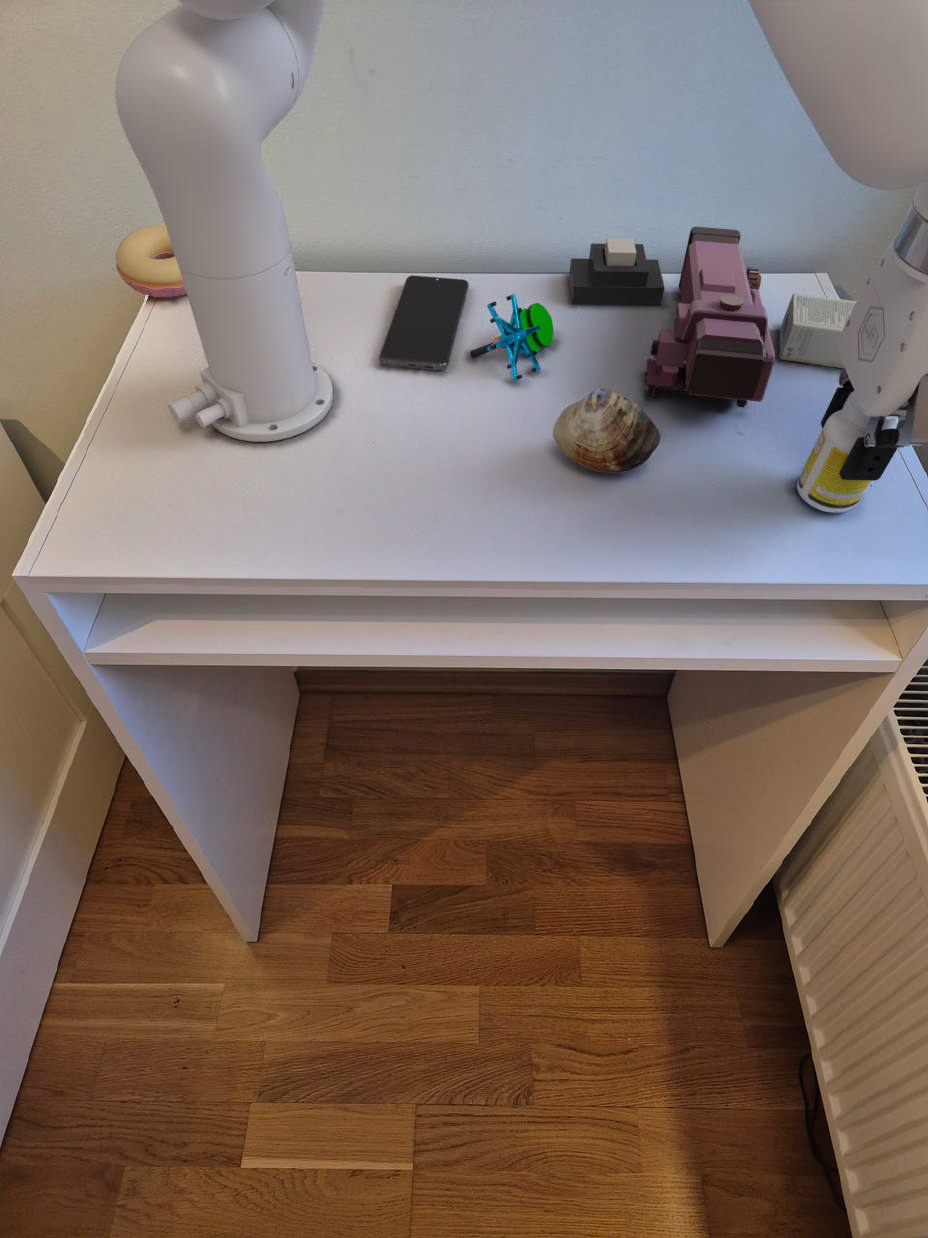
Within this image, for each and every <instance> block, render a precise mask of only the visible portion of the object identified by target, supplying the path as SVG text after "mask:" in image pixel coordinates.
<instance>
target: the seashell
mask: <svg viewBox="0 0 928 1238" xmlns="http://www.w3.org/2000/svg"><path fill="white" fill-rule="evenodd" d="M661 436H662V435H661V432H660V430H659V428H658V427H657V426H656V424H655V423H654V422H653V420H652V419H651V418H650V417H649V416H648V414H647V413H646V412H645V411H644V410H643V409H642V408H641V406H640V405H638V404H636V403H635V402H634V401H632V400H631V399H629V398H628V397H626V396H623V395H621V394H619V393H618V392H616V391H612V390H610V389H606V388H597V389H595V390H593V391H591V392H590V393H589V394H587V395H586V396H584V397H583V398H582V399H580V400H578V401H575V402H573V403H571V404H569V405H568V406H567V407H565V408H564V409H563V410H562V411H561V413H560V415H559V416H558V417H557V418H556V420H555V421H554V425H553V428H552V437H553V439H554V441H555V443H556V444H557V446H558V447H559V449H560V450H561V451H562V453H564V455H565V456H567V457H568V458H569V459H571V461H573V462H575V463H576V464H578V465H579V466H581V467H583V468H585V469H588V470H590V471H594V472H596V473H604V474H616V473H625V472H629V471H632V470H634V469H637V468H638V467H640V466H642V465H643V464H644V463H646V462H647V461H648V460H649V459H650V457H651V456H652V455H653V453H654V452H655V451H656V449H657V448H658V447H659V445H660V443H661V438H662V437H661Z"/></svg>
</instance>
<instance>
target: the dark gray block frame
mask: <svg viewBox="0 0 928 1238" xmlns="http://www.w3.org/2000/svg"><path fill="white" fill-rule="evenodd" d="M634 244H635V248H636V258H635V264H634V266H606V260H605V254H604V253H605V246H606V243H596V242H595V243H594V242H593V243H590V247H589V256H588V258H574V257H573V258H570V266H569V275H568V279H569V287H570V288H569V289H570V297H571V298H570V299H571V305H579V306H581V305H587V306H588V305H589V306H590V305H591V306H592V305H593V306H648V307H649V306H651V307H652V306H654V307H655V306H659V307H660V306H661V305H662V301H663V297H664V293H665V284H664V279H663V276H662V271H661V267H660V262H659V259H651V258H650V259H649V258H648V259H647V256H646V252H645V247H644V243H634Z"/></svg>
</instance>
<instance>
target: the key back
mask: <svg viewBox="0 0 928 1238" xmlns="http://www.w3.org/2000/svg"><path fill="white" fill-rule="evenodd" d="M605 244H606V246H605V253H604V254H605V260H606V266H634V264H635V258H636V248H635V244H636V243H635V239H634V238H609V237H608V238H606V239H605Z"/></svg>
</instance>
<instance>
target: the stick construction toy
mask: <svg viewBox="0 0 928 1238" xmlns="http://www.w3.org/2000/svg"><path fill="white" fill-rule="evenodd" d="M505 298H506V301H507V302H508V301H511V307H512V313H511V315H510V320H509V321H506V320H505V319H503V318H501V317H500V316H499V315H498V313H497V311H496V309H495V308H494V307H495V306H497V302H496V301H492V302H490V303H488V304H487V305H486V306H487V307H486V308H487V309H488V311H489V313H490V315H491V317H492V318H490V319H489V323H490V324H496V327H497V328H498V330H499V332H500V335H498V336H496V337H494V338H493V339H492V340H493V341H492V342H490V343H487V344H485V345H484V344H483V345H482V346H479V347H477V348H475V349H472V350H470V351H469V355H470V357H471V358H472V359H476V358H479V357H481V356H483V355H485V354H488V353H490V352H493V351H496V352H501V351H505V350H506V351H507V356H508V361H509V364H507V365H506V369H507V370H511V376H512V379H513V381H519V380H521V379H523V374H518V370H517V364H518V360H519V357H520V353H521V354H523V355H525V356H526V357H527V358H529V359H530V361H531V363H532V365H533V368H530V369H531V370H530V371H531V372H532V373H535V372H538V371H541V369H542V368H541V365H540V364H539V362H538V359H537V358H536V356H537V355H538V353H537V352H539V351H540V350H541V349H542V348H543V347H547V346H550V345H551V344H552V342H553V340H554V322H553V318H552V316H551V315H550V313H549V311H548V309H547V308H546V307H545V306H544V305H542V304H541V303H539V302H534V303H532V304H530V305H529V306H528V307H527V308H522V307H519V306H518V300H517V295H516V294H515V293H512V294H510V295H508V296H506V297H505Z"/></svg>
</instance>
